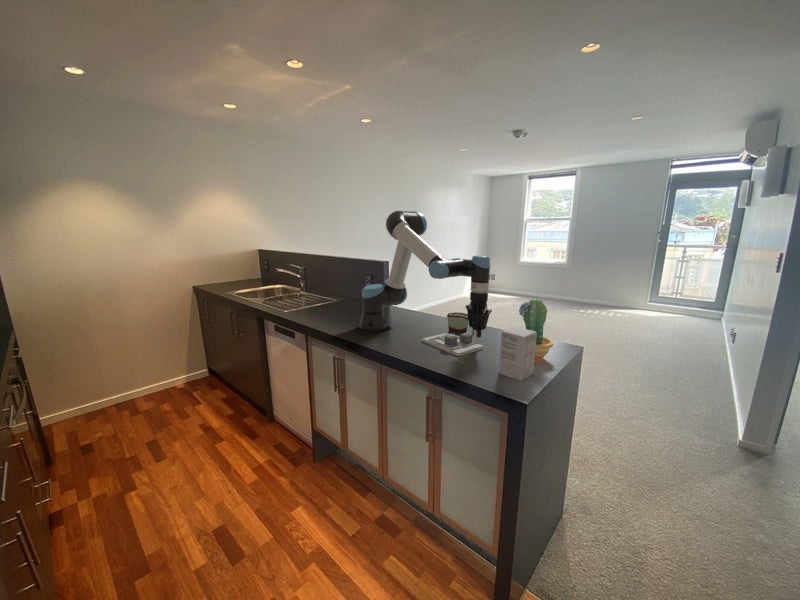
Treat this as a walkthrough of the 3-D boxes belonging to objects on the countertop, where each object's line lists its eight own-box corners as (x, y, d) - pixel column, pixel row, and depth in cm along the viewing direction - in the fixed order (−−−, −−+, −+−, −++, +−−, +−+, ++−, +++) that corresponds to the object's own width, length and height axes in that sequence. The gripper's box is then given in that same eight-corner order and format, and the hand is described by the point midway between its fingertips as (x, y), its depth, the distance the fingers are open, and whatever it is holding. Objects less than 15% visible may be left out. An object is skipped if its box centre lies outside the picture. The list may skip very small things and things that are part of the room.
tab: (444, 344, 152) (444, 335, 151) (450, 343, 154) (451, 333, 153) (450, 347, 149) (450, 337, 148) (456, 345, 151) (457, 335, 150)
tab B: (459, 342, 155) (460, 333, 154) (465, 341, 157) (466, 331, 157) (466, 345, 152) (466, 335, 151) (472, 343, 154) (472, 333, 153)
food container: (471, 331, 178) (472, 313, 176) (468, 335, 172) (469, 316, 170) (449, 329, 183) (449, 311, 181) (445, 332, 177) (446, 313, 175)
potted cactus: (520, 348, 153) (525, 295, 148) (556, 356, 143) (562, 299, 138) (507, 358, 141) (512, 300, 136) (545, 368, 131) (552, 306, 126)
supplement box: (511, 366, 132) (515, 325, 129) (533, 374, 125) (537, 331, 122) (497, 373, 126) (500, 330, 123) (520, 381, 119) (524, 336, 116)
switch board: (422, 341, 162) (422, 336, 161) (446, 335, 171) (446, 331, 170) (458, 356, 143) (458, 351, 142) (483, 349, 152) (483, 344, 151)
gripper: (462, 290, 148) (459, 341, 152) (485, 294, 137) (482, 349, 142) (473, 288, 152) (471, 338, 157) (497, 293, 142) (493, 345, 146)
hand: (476, 343), depth 149 cm, fingers closed
